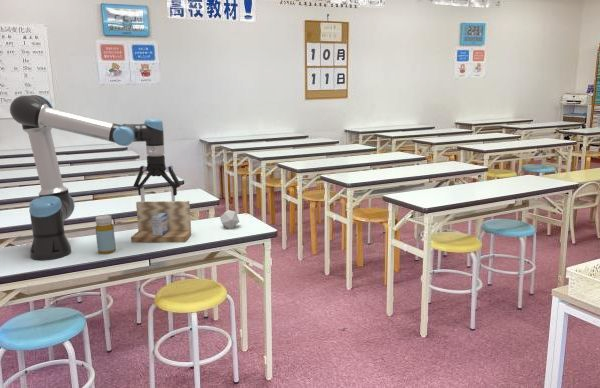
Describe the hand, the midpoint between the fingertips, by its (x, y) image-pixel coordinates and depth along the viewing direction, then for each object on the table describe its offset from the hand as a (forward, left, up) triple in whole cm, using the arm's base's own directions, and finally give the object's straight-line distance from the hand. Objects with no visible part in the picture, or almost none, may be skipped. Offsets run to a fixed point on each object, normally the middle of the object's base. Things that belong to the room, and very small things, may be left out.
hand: (158, 202), depth 226 cm
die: (+28, +19, -17) cm, 38 cm away
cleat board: (0, +1, -17) cm, 17 cm away
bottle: (-18, -17, -17) cm, 30 cm away
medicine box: (0, 0, -15) cm, 15 cm away
